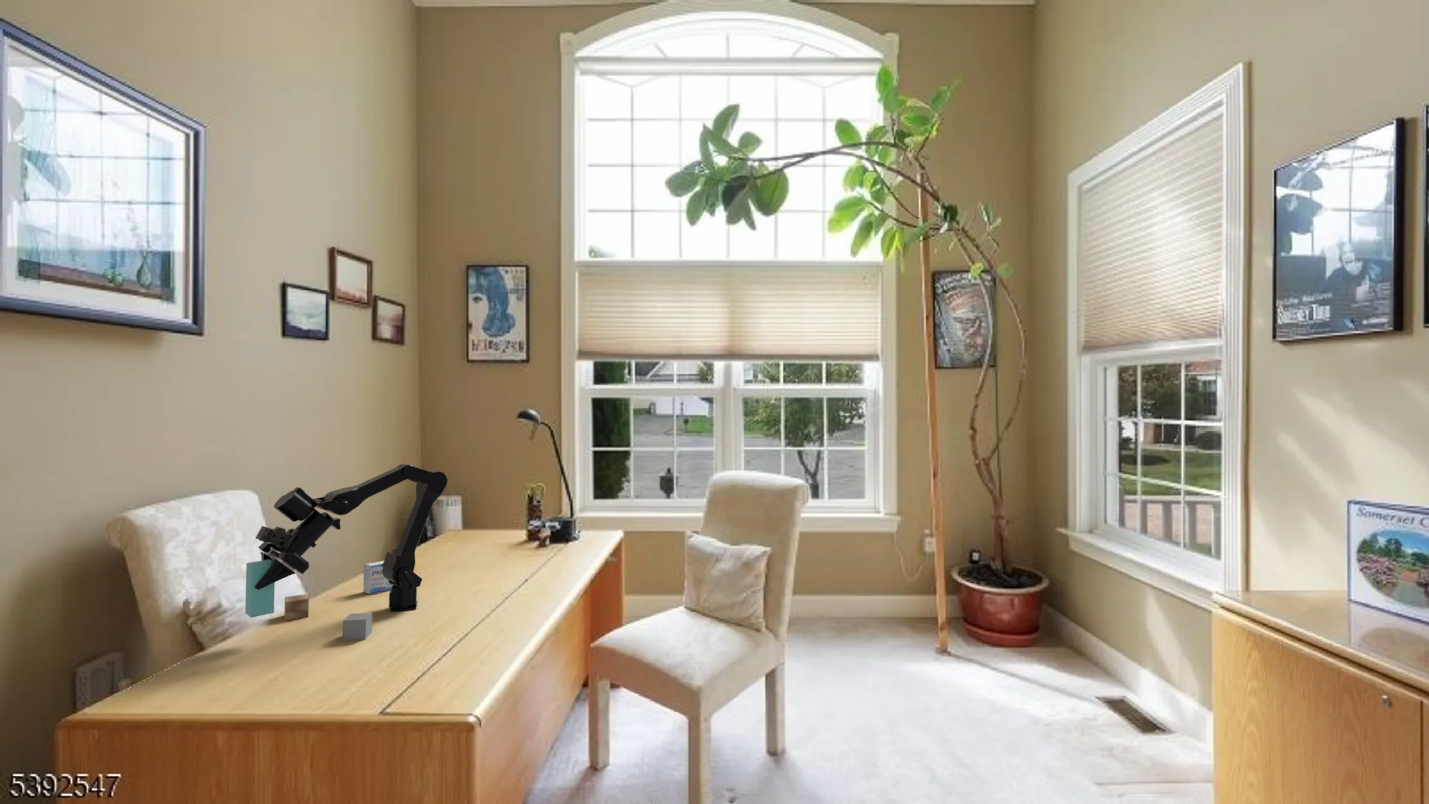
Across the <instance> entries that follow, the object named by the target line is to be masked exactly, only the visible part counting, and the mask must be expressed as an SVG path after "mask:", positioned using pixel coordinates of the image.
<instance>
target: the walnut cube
mask: <svg viewBox="0 0 1429 804" xmlns="http://www.w3.org/2000/svg"><path fill="white" fill-rule="evenodd" d="M309 603H310V598H309V595H308V593H304V594H297V595H291V596H285V597H284V610H283V611H284V620H285V621H292V620H291V619H293V620H298V619H304V618H309V611H310V610H309V609H310V608H309V605H310V604H309Z"/></svg>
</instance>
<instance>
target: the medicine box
mask: <svg viewBox="0 0 1429 804" xmlns="http://www.w3.org/2000/svg"><path fill="white" fill-rule="evenodd" d="M384 561H385V560H380V561H375V562H374V561H373V562H369V563H364V564H363V593H365V594H368V595H370V594H371V595H375V594H379V592H380V593H383V592H382V591H384V592H389V591H391V590H392V586H393V585H392V584H390V583H389V581H388V579H386V578H385V577H384V576H383V574H382V569H383V567H382V566H381V565H382V564H383V562H384Z"/></svg>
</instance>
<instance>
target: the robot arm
mask: <svg viewBox="0 0 1429 804" xmlns="http://www.w3.org/2000/svg"><path fill="white" fill-rule="evenodd" d="M406 480H408V481H411V482H412V483H416V486H415V495H416V497H415V502H414V504H413V506H412V509H411V511H410V514H409V516H408V519H407V522H406V524H405V527H404V529H403V532H402V534H401V537H400V540H399V543H398V545H397V547H396V548H395V550H394V551H393V552H387V551H386V553H385V557H384V560H383V561H384V562H383V564H382V565H381V566H382V567H383V569H382V574H383V576H384V577H385V578H386V579H388V581H389V583H390V584H392V585H393V586H392V590H389V595H388V607H389V609H390V610H389V611H390V612H399V611H410V610H416V609H417V608H418V607H417V606H418V599H417V598H418V587H421V584H422V581H423V578H422V577H420V576H419V575H418V574H417V573H415V567H416V550H417V546H418V544H419V542H420V539H421V537H422V534H423V532H424V529H425V526H426V523H427V520H428V518H429V515H430V514H431V511H432V508H433V506H434V505H433V504H434V503H435V502H436V501H437V499H439V497H441V496H442V494H443V492H444V491H445V489H446V487H447V486H448V480H449V479H448V478H447V475H446V474H445V472H442V471H438V470H432V469H427V470H426V469H423V468H419V467H416V466H414V465H412V464H408V463H401V464H398V465H397V466H396V467H393V468H392V469H390V470H387V471H384V472H383V473H381V474H378V475H376V476H374V477H372V478H369V479H367V480H365V481H363V482H361V483H358V484H355V485H353V486H348V487H346V486H345V487H342V488H339V489H335V490H332V491H329V492H327V493H325V495H324V496H321V497H316V498H312V497H311V496H309V495H308V493H306V492H305V490H303V489H302V487H299V486H296V487H295V488H294V489H292V490H290V491H288V492H287V493H285V494H284V495H281V496H280V498H278V499H277V501H276V502H274V505H273V508H274V509H275V510H277V511H278V512H279V513H280V514H282V515H283V516H284V517H286V518H287V519H289V520H290V521H291V522H293V523H295V522H298V521H299V522H300V523H299V524H298V525H297V526H296V527H295V528H289V529H288V530H287V529H286V528H285V527H281V526H276V527H274V528H271V527H267V526H264V525H261V527H260V529H259V531H258V533H257V534H256V536H255V540H259V541H260V542H262V543H261V544H260V545H259V546H258V547H257V548H258V550H260V557H261V558H260V559H261V560H260V561H262V560H271V567H270V568H269V569H268V571H267V572H266V573H265V574H264V576H263V577H262V578H261V579H260V581H259V582H258V583H257V584H256V586H255V588H256V589H258V590H260V589H262V588H264V587H266V586H268V585H270V584H272V583H274V582H275V583H276V582H278V581H281V580H282V579H283V580H284V579H286V578H287V577H289V576H293V575H295V574H296V572H297V573H299V574H301V575H304V573H306V572H307V571H308V569H310V562H309V561H307V560H306V559H305V558H304V557H302V556H303V555H304V554H305V553H306V552H307V551H308V550H309V549H310V548H315V547H316V546H317V545H318V544H317V543H316V542H317V541H318V540H319V539H320V538H321V537H322V536H323V535H324V534H325V533H326V532H327V531H328V530H329V529H330V528H331V527H332V529H334V530H338V531H339V530H341V528H342V527H341V518H339V517H335V518H334V517H333V516H331V515H330V513H331V514H333V515H334V514H335V515H337V516H346V515H348V514H349V513H351V512H352V511H353V510H356V508H358V507H360V505H361V504H363V502H364V501H366V500H367V499H369V498H371V497H373V496H375V495H377V494H379V493H381V492H383V491H385V490H387V489H389V488H391V487H394V486H396V485H399V484H401V483H402V482H404V481H406ZM316 508H317V509H319V510H323V511H325V512H319V510H317V509H316ZM286 530H287V531H286ZM294 570H296V572H295V571H294Z"/></svg>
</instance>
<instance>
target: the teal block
mask: <svg viewBox="0 0 1429 804" xmlns="http://www.w3.org/2000/svg"><path fill="white" fill-rule="evenodd" d="M245 567H246V572H245V576H246V577H245V604H244V605H245V612H244V613H245V615H247V616H248V617H249V618H256V617H259V616H265V615H271V614H274V613H275V583H276V582H274V583H272V584H270V585H268V586H266V587H264V588H262V589H260V590H258V589H256V588H255V586H256V584H257V583H258V582H259V581H260V579H261V578H262V577H263V576H264V574H265V573H266V572H267V571H268V569H269V568H270V567H271V560H257V561H251V562H249V561H248V562H246V566H245Z"/></svg>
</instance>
